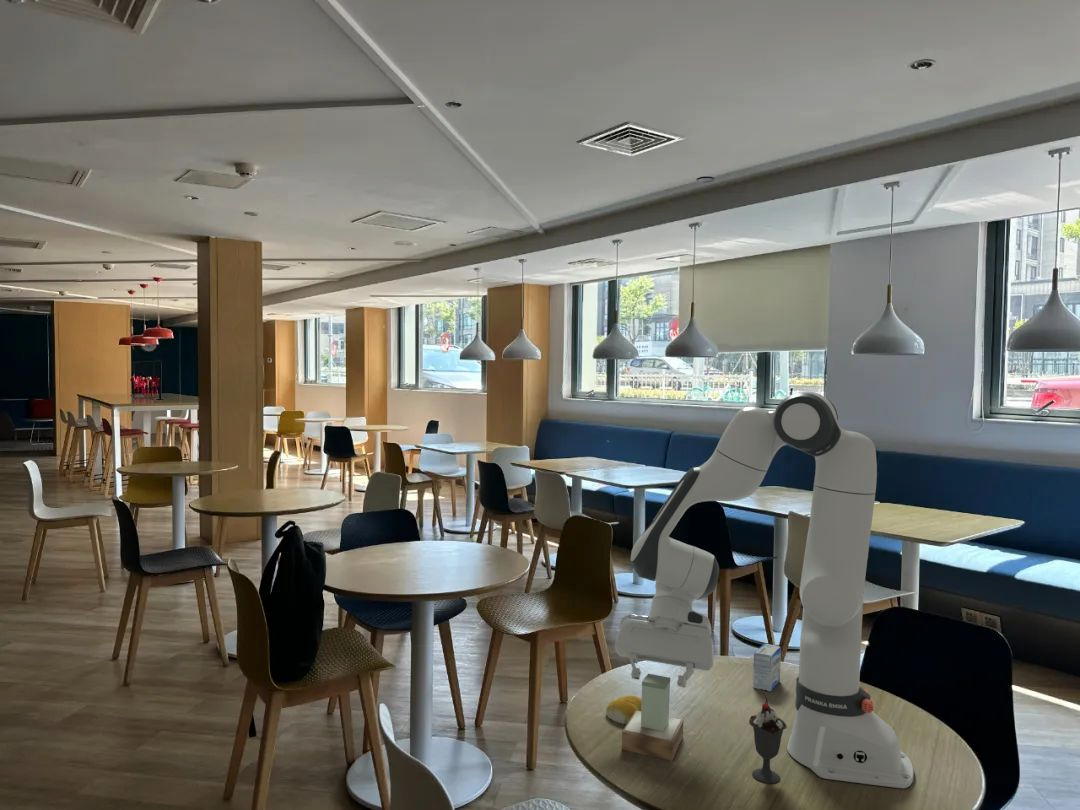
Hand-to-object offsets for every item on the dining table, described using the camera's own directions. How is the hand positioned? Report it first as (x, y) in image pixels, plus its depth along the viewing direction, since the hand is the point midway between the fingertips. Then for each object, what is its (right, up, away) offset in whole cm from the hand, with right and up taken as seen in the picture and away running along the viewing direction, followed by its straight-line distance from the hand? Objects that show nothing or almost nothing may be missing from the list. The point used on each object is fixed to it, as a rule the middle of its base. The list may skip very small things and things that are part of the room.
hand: (657, 682), depth 147 cm
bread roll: (-5, -12, +11) cm, 17 cm away
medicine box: (+31, -12, +29) cm, 44 cm away
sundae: (+18, -13, -12) cm, 25 cm away
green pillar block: (-1, -8, -1) cm, 8 cm away
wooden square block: (-1, -12, -1) cm, 12 cm away
